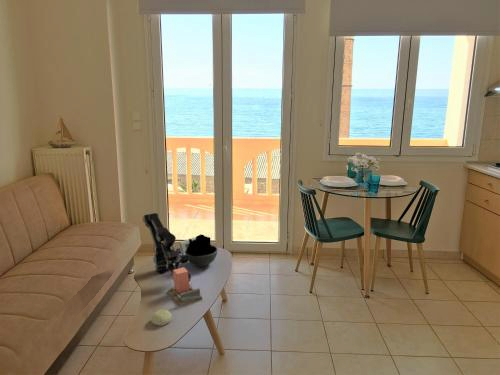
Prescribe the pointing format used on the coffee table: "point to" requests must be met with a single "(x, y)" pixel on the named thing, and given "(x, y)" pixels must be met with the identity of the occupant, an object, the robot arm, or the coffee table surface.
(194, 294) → the base
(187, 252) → the bowl of black rocks
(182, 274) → the salmon pink rectangular block
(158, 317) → the sea urchin shell
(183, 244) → the digital clock
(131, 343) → the coffee table surface
